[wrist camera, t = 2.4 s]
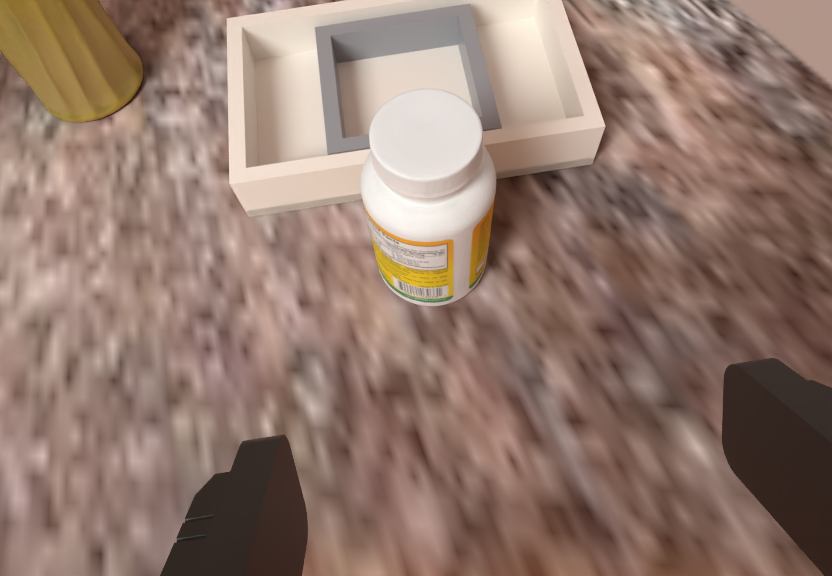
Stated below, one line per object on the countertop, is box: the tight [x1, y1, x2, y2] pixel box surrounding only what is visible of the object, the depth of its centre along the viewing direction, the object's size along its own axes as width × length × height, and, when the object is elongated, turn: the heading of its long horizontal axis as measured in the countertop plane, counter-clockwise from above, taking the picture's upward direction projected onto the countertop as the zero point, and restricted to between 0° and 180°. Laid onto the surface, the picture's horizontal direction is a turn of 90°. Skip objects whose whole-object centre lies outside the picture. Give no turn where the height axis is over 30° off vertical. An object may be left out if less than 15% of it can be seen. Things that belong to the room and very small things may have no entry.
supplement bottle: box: [360, 88, 496, 306], centre depth 25 cm, size 5×5×10 cm
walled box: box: [227, 0, 605, 217], centre depth 32 cm, size 18×11×3 cm, turn 98°
